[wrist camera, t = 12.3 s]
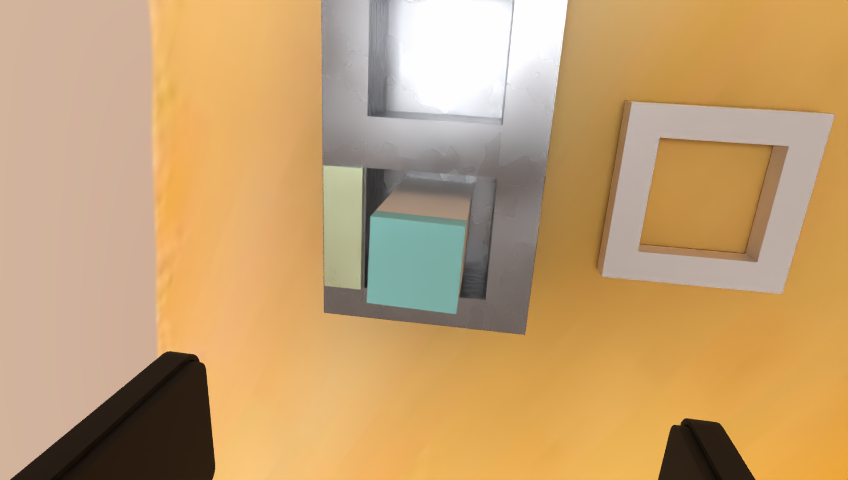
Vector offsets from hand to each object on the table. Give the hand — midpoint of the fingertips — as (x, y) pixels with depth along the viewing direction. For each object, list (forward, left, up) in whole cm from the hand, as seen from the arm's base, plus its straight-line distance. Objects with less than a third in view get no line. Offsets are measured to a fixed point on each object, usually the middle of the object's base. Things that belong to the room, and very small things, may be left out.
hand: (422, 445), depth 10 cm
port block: (+2, -4, -22) cm, 23 cm away
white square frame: (-13, -1, -22) cm, 26 cm away
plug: (+2, +1, -21) cm, 21 cm away
